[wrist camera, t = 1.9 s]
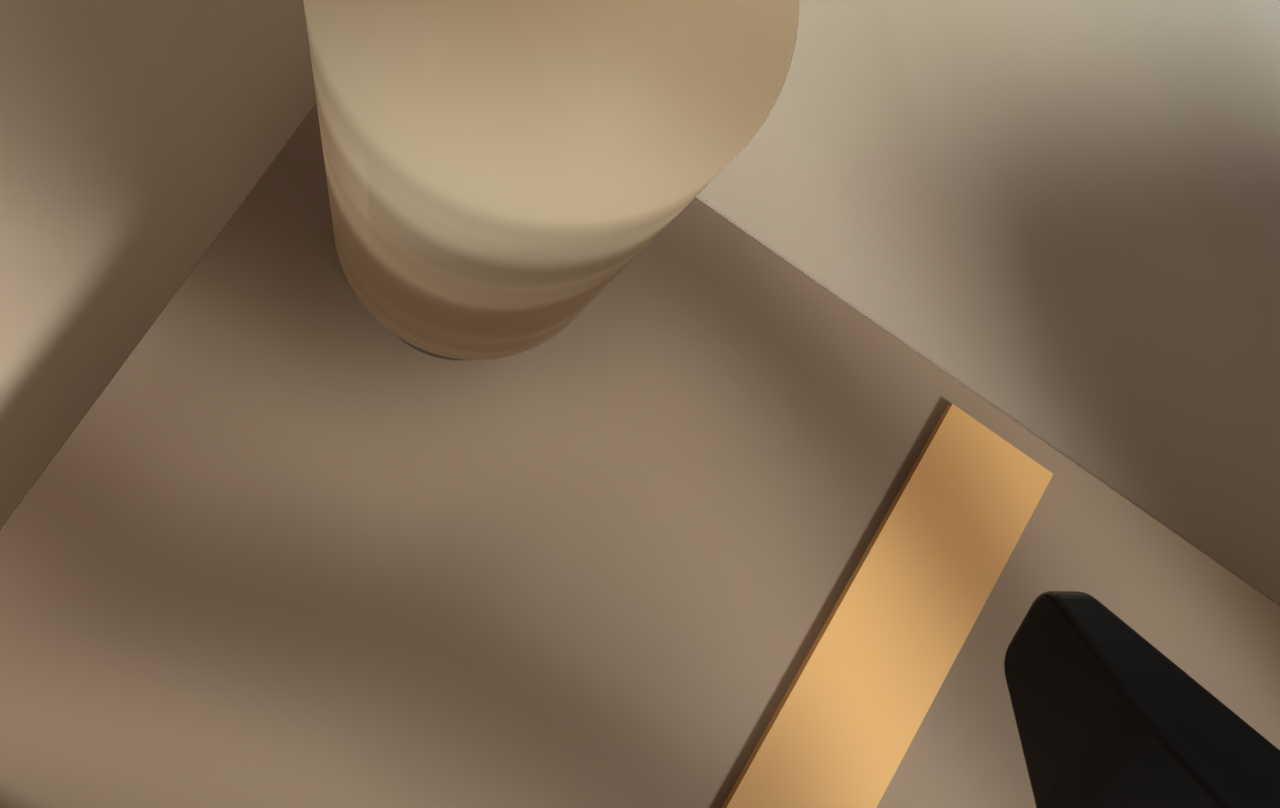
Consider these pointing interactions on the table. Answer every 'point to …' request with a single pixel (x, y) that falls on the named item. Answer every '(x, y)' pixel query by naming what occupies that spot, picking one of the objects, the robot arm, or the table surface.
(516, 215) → the beige round column
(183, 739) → the board
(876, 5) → the table surface
